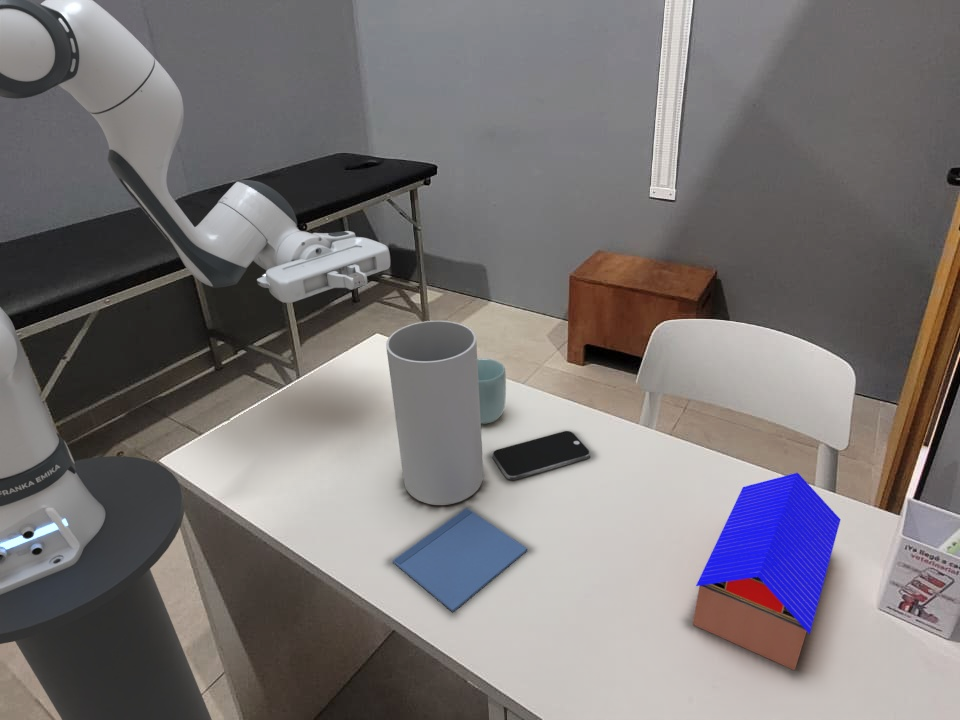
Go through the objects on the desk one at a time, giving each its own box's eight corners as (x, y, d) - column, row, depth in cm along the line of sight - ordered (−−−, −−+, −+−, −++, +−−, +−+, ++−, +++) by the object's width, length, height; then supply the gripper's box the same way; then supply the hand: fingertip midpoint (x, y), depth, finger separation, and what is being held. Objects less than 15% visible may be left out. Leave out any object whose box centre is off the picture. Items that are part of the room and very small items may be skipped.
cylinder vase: (395, 505, 98) (375, 361, 86) (414, 454, 109) (398, 319, 96) (477, 510, 96) (469, 363, 84) (488, 457, 107) (481, 321, 95)
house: (689, 625, 77) (701, 554, 72) (735, 523, 92) (748, 457, 86) (797, 674, 71) (819, 601, 66) (828, 557, 85) (849, 488, 80)
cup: (487, 434, 112) (485, 385, 108) (454, 419, 117) (450, 371, 112) (514, 414, 117) (514, 366, 113) (482, 400, 122) (480, 354, 117)
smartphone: (593, 454, 105) (508, 478, 101) (592, 457, 106) (508, 482, 101) (570, 428, 112) (489, 450, 107) (570, 432, 112) (490, 454, 107)
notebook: (452, 612, 80) (452, 609, 80) (392, 562, 88) (392, 559, 88) (527, 550, 89) (527, 547, 89) (466, 509, 96) (466, 507, 96)
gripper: (247, 260, 98) (295, 282, 90) (357, 228, 111) (409, 244, 102) (255, 298, 101) (302, 323, 93) (362, 263, 114) (412, 282, 105)
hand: (359, 282), depth 98 cm, fingers closed
